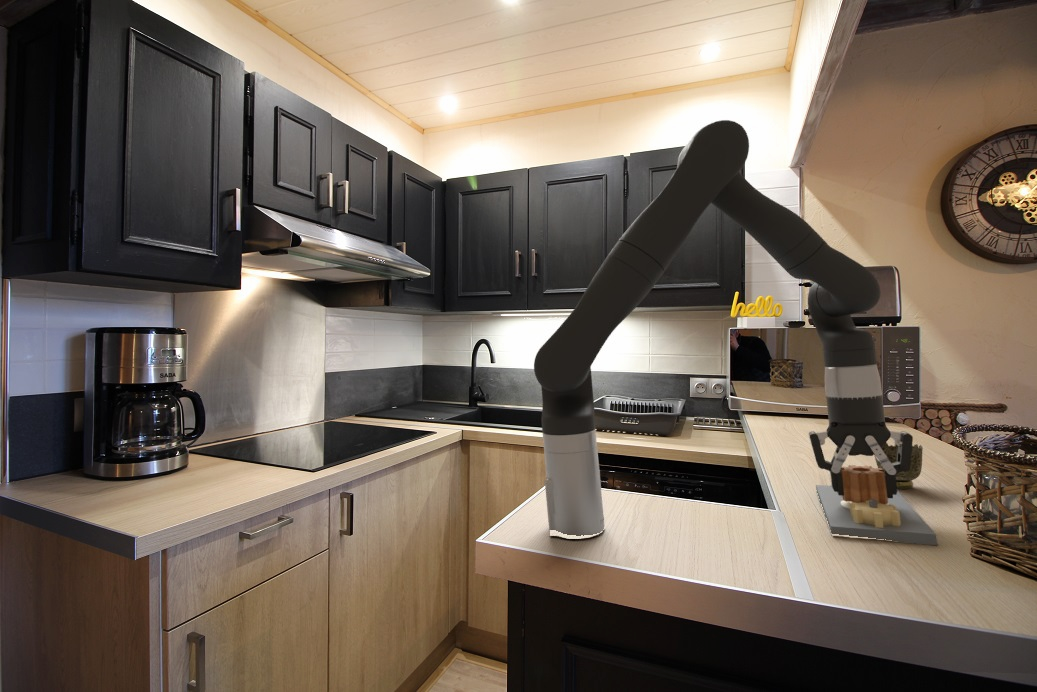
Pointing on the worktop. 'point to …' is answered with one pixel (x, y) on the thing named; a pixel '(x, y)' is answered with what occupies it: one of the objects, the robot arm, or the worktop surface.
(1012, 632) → the worktop surface
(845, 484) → the idler gear
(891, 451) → the cup
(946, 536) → the worktop surface
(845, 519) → the gear board
